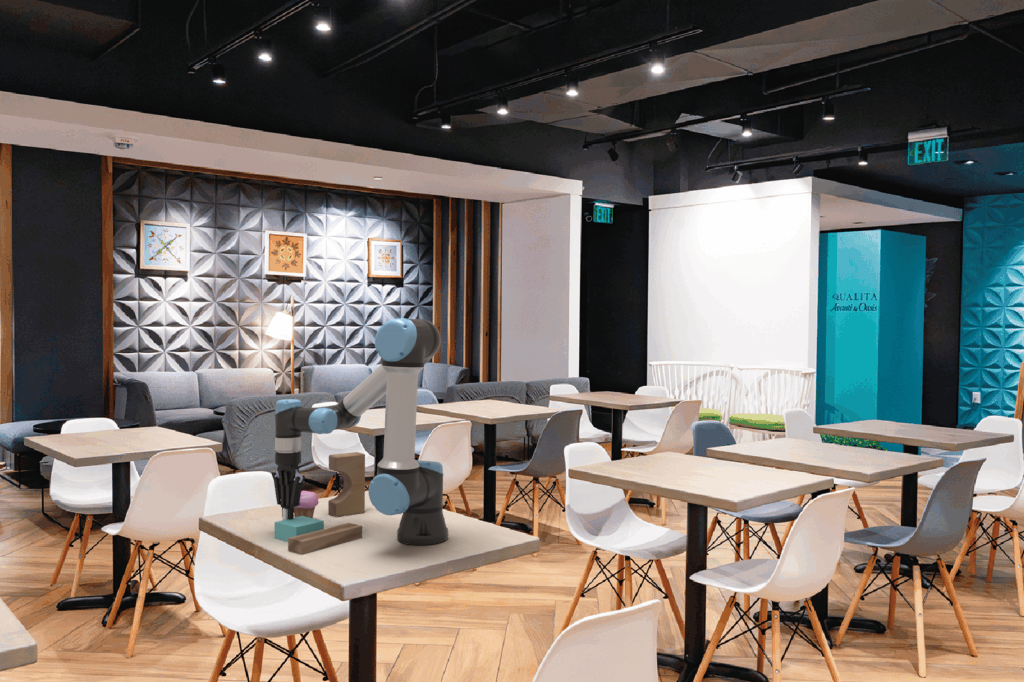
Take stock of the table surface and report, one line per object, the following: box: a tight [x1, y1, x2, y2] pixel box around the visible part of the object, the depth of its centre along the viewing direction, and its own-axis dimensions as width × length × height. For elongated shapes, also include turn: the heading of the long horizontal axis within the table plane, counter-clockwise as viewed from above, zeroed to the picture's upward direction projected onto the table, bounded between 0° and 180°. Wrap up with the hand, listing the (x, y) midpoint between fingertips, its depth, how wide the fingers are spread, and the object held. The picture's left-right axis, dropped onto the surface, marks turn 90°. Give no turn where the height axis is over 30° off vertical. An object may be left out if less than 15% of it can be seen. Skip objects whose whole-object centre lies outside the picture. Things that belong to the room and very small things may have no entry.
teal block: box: [273, 516, 325, 543], centre depth 224 cm, size 10×10×5 cm
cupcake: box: [294, 490, 320, 518], centre depth 243 cm, size 9×9×10 cm
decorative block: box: [327, 451, 366, 518], centre depth 255 cm, size 11×6×20 cm, turn 128°
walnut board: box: [287, 522, 363, 555], centre depth 217 cm, size 6×22×4 cm, turn 144°
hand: (287, 529), depth 228 cm, fingers closed
